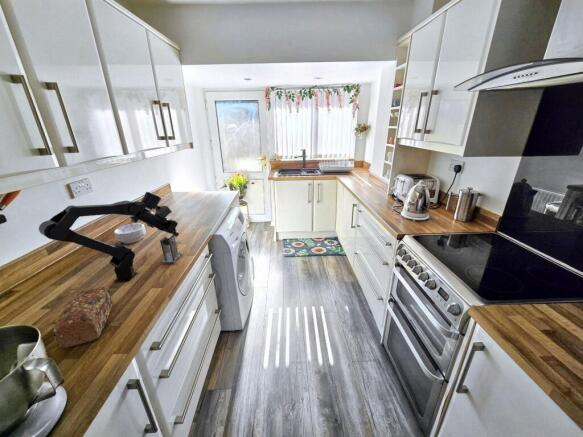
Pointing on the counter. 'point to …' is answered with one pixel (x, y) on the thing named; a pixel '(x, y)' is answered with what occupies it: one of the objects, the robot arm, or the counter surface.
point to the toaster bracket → (169, 257)
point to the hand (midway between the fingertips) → (175, 230)
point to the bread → (83, 317)
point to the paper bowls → (130, 233)
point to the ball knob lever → (170, 237)
